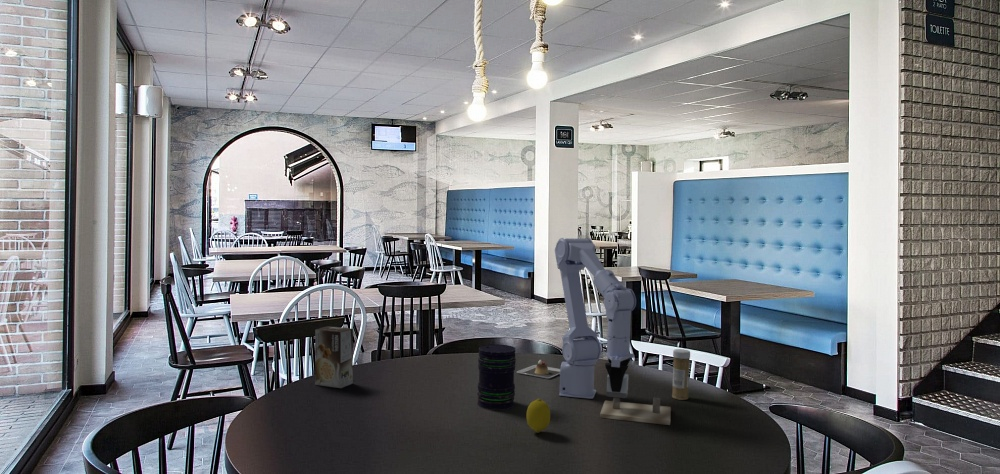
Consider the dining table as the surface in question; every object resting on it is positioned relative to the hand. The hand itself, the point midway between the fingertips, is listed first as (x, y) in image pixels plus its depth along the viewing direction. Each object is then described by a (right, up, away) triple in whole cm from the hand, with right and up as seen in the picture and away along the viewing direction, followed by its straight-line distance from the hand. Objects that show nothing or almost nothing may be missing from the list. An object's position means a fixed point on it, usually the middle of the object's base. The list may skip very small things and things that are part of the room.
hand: (617, 388), depth 168 cm
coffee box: (-78, -4, +20) cm, 80 cm away
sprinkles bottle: (+20, -6, +15) cm, 26 cm away
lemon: (-21, -6, -17) cm, 28 cm away
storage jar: (-31, -5, +4) cm, 32 cm away
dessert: (-17, -5, +39) cm, 43 cm away
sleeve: (0, -2, 0) cm, 2 cm away
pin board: (+5, -6, -1) cm, 8 cm away
